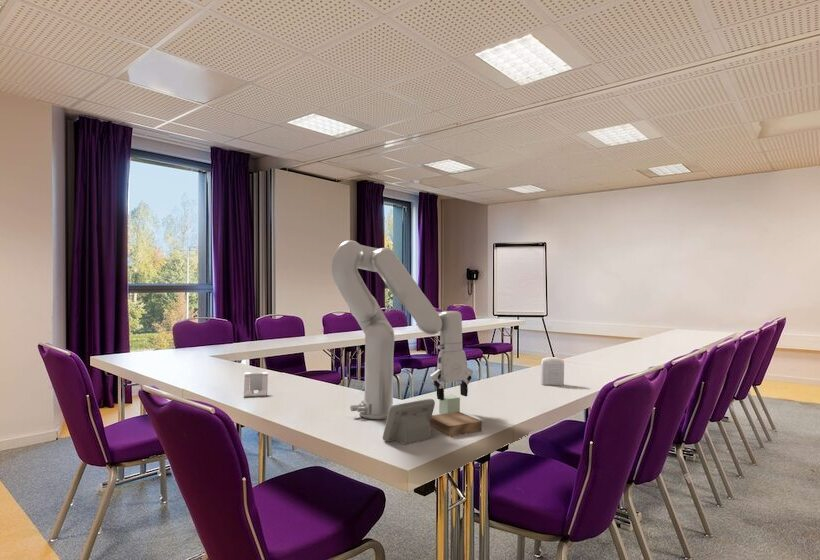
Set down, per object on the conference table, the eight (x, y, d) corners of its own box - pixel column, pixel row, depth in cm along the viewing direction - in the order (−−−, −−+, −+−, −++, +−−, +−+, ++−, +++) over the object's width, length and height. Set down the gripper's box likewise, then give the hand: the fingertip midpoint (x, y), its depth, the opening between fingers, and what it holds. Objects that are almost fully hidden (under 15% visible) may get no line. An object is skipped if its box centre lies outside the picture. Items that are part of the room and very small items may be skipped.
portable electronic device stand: (243, 397, 181) (244, 375, 181) (244, 393, 188) (245, 371, 188) (267, 396, 183) (267, 374, 183) (267, 392, 191) (267, 371, 191)
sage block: (447, 417, 159) (447, 399, 159) (439, 413, 163) (439, 395, 163) (459, 415, 161) (459, 397, 161) (451, 411, 166) (451, 394, 166)
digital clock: (426, 430, 143) (427, 395, 144) (442, 439, 135) (442, 402, 136) (377, 438, 136) (377, 400, 136) (390, 447, 128) (391, 408, 128)
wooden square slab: (448, 436, 138) (449, 426, 138) (426, 425, 148) (427, 416, 148) (481, 431, 144) (481, 421, 144) (458, 420, 154) (458, 411, 154)
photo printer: (562, 384, 216) (562, 356, 217) (565, 386, 212) (565, 358, 212) (539, 383, 217) (539, 356, 217) (541, 385, 213) (542, 357, 213)
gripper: (436, 350, 155) (437, 403, 155) (478, 346, 164) (479, 396, 163) (424, 348, 161) (425, 399, 161) (465, 344, 170) (466, 392, 170)
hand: (452, 397), depth 162 cm, fingers open, 9 cm apart
